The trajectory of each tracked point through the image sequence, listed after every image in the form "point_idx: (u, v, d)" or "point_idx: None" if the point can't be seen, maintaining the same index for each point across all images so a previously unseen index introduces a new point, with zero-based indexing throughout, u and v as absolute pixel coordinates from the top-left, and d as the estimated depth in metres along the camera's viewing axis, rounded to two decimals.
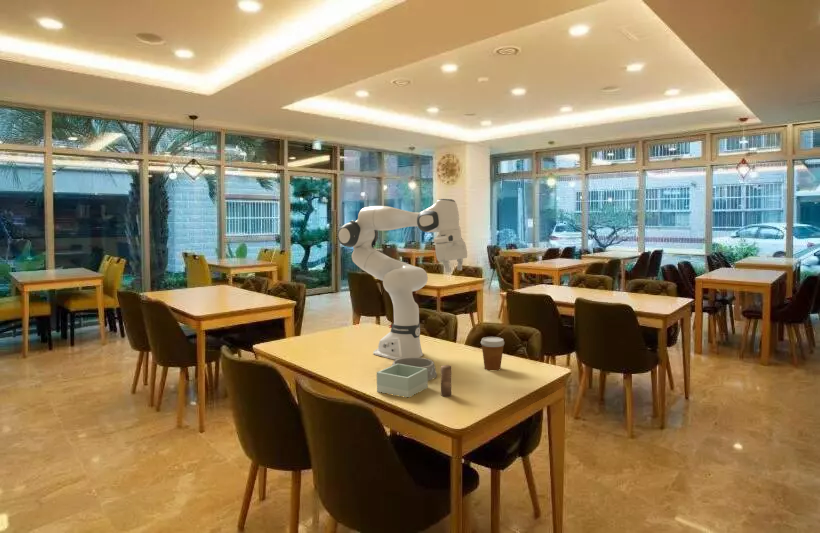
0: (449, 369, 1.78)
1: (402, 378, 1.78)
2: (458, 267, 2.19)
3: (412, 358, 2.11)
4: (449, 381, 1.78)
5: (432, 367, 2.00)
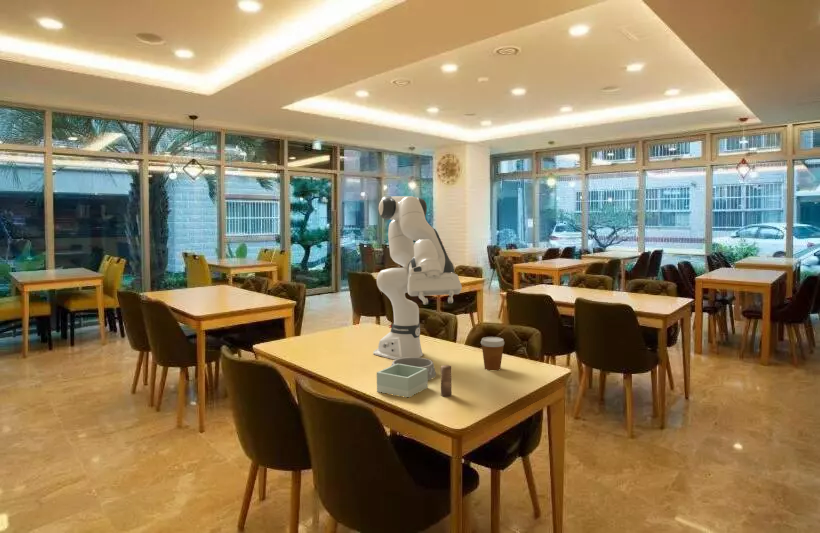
0: (449, 369, 1.78)
1: (402, 378, 1.78)
2: (448, 300, 1.92)
3: (412, 358, 2.11)
4: (449, 381, 1.78)
5: (431, 367, 2.00)
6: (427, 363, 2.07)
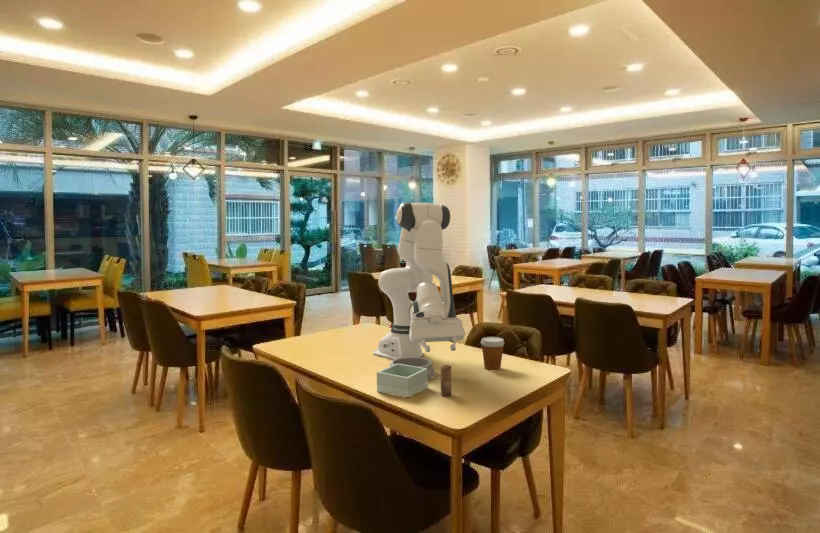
0: (449, 369, 1.78)
1: (402, 378, 1.78)
2: (451, 347, 1.87)
3: (411, 358, 2.11)
4: (449, 381, 1.78)
5: (430, 367, 2.00)
6: (426, 363, 2.08)
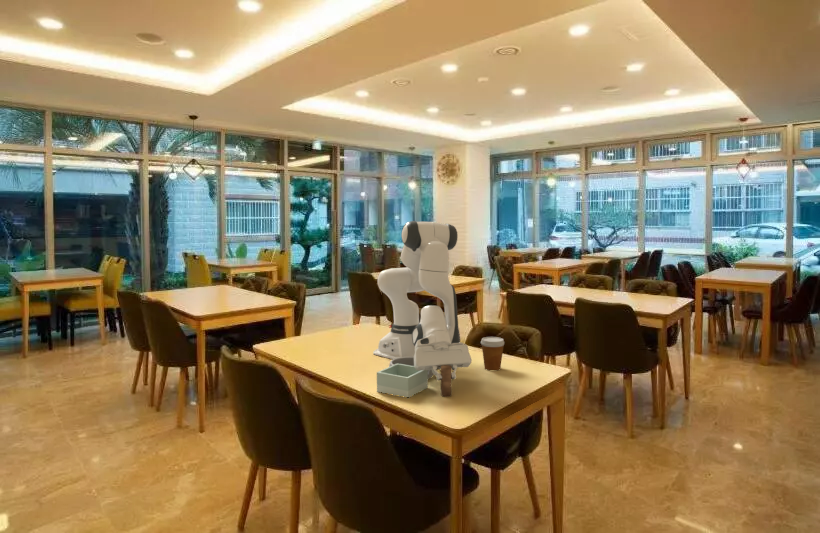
0: (449, 369, 1.78)
1: (402, 378, 1.78)
2: (451, 375, 1.80)
3: (410, 358, 2.11)
4: (449, 381, 1.78)
5: None
6: None
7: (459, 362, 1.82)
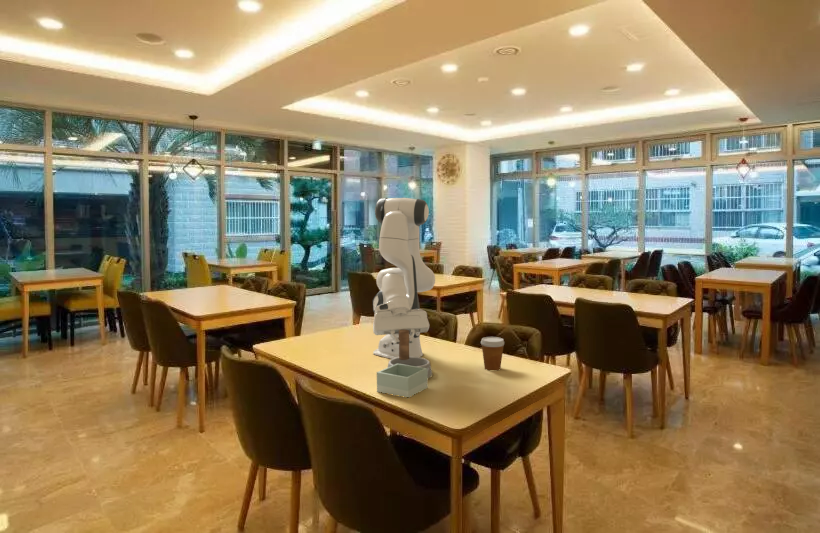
0: (406, 333, 1.83)
1: (402, 378, 1.78)
2: None
3: None
4: (407, 345, 1.83)
5: (428, 366, 2.01)
6: (423, 362, 2.08)
7: (417, 327, 1.87)
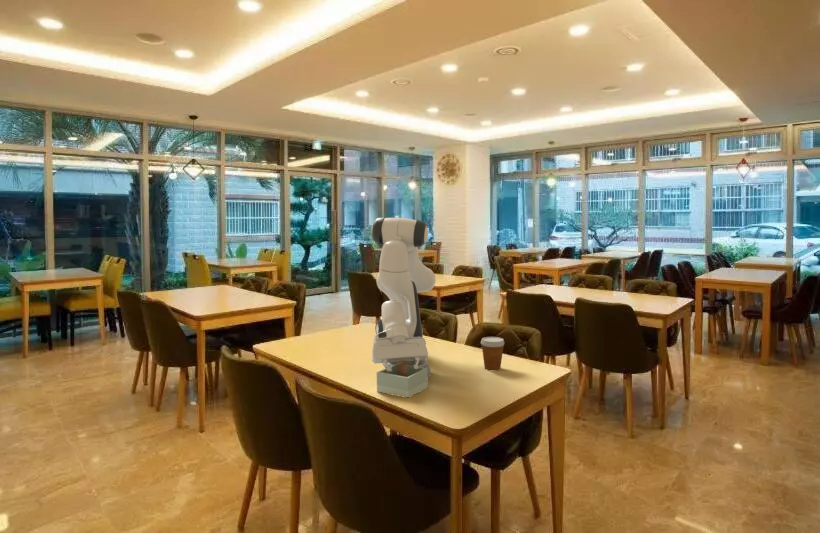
0: (405, 364, 1.84)
1: (402, 378, 1.78)
2: (413, 367, 1.87)
3: None
4: (405, 376, 1.84)
5: (426, 366, 2.01)
6: (422, 362, 2.09)
7: (415, 355, 1.88)
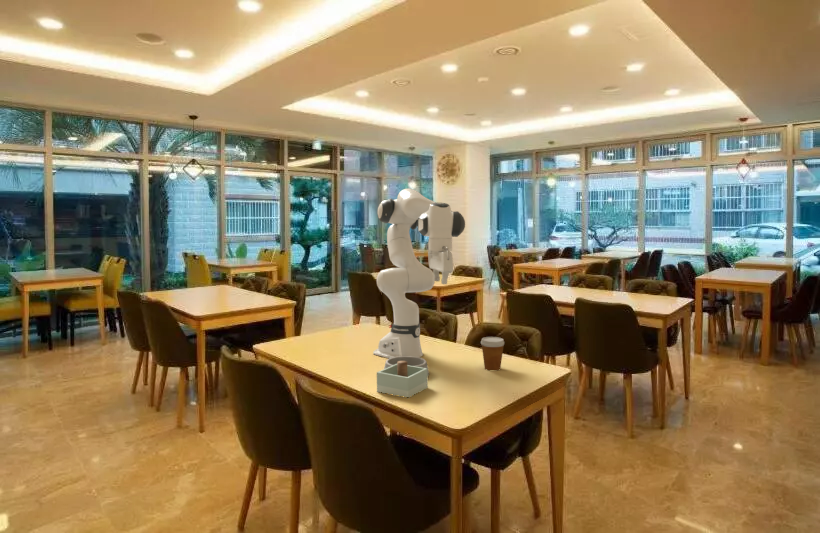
0: (405, 364, 1.84)
1: (402, 378, 1.78)
2: None
3: (405, 357, 2.12)
4: (405, 376, 1.84)
5: (424, 366, 2.02)
6: (420, 362, 2.09)
7: (440, 271, 1.92)
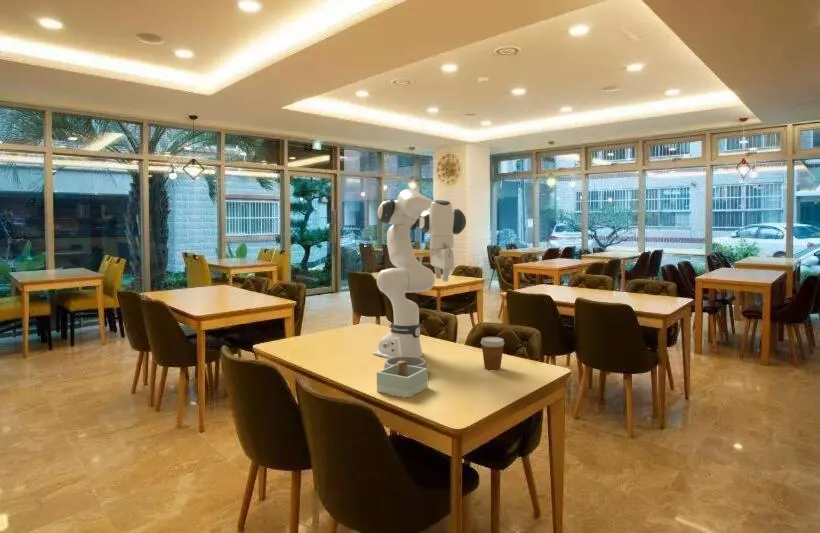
0: (405, 364, 1.84)
1: (402, 378, 1.78)
2: None
3: (405, 357, 2.12)
4: (405, 376, 1.84)
5: (424, 366, 2.02)
6: (420, 362, 2.09)
7: (441, 268, 1.93)
